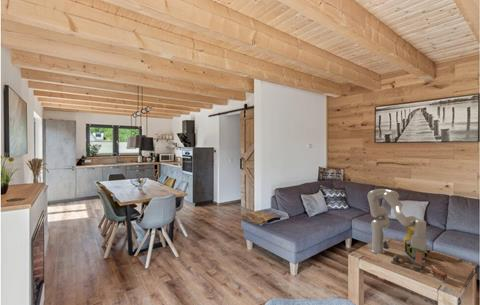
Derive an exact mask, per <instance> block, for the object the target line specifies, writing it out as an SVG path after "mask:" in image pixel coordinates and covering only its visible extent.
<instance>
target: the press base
mask: <svg viewBox="0 0 480 305" xmlns="http://www.w3.org/2000/svg"><path fill="white" fill-rule="evenodd" d="M399 259H402V260H403V263H402V264H401V263H399ZM390 263H391V265H394V266H399V267H401V268H404V269H407V270H411V271H413V272H416V273H420V274H423V273H424V272H425V269H426V265H424V264H423V268H422V270H418V269H415V268H413V264H414V262H412V261H411V260H407V259H403V258H401V257H399V254H397V253H395V254H394V255H393V257H392V260H391V261H390Z"/></svg>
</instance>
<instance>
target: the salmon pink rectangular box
mask: <svg viewBox="0 0 480 305" xmlns="http://www.w3.org/2000/svg"><path fill="white" fill-rule="evenodd" d="M422 260H423V253H420V252H416V259H415V262H414V264H413V268H415V269H418V270H422V268H423V265H424V263H422Z"/></svg>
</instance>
